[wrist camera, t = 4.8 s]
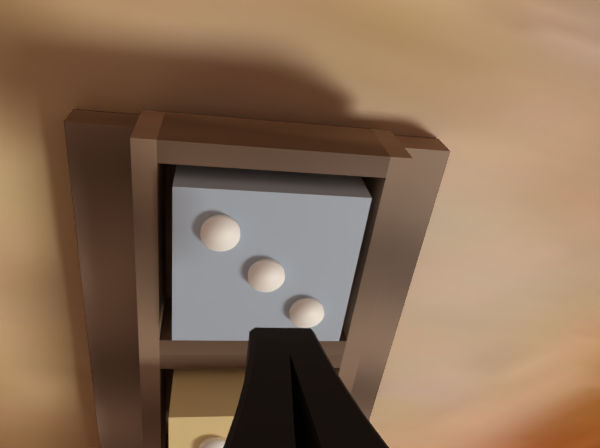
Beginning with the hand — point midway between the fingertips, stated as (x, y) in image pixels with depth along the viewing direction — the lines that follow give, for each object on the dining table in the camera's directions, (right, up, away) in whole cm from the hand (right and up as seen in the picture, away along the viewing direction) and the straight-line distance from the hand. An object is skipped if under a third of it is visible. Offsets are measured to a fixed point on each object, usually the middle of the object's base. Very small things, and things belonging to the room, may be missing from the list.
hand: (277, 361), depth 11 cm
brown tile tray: (-2, -3, +9) cm, 10 cm away
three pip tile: (-1, +3, +4) cm, 5 cm away
